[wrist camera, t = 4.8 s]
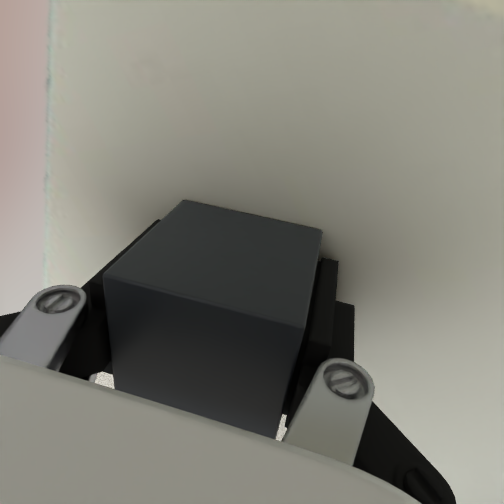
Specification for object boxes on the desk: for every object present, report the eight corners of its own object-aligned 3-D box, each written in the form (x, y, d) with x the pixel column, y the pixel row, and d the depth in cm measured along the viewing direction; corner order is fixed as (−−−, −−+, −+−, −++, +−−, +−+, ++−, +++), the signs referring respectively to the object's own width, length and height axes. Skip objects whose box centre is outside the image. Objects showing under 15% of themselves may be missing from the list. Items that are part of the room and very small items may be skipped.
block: (183, 198, 12) (100, 273, 8) (323, 229, 11) (305, 327, 8) (180, 306, 14) (115, 405, 11) (295, 337, 14) (271, 454, 10)
